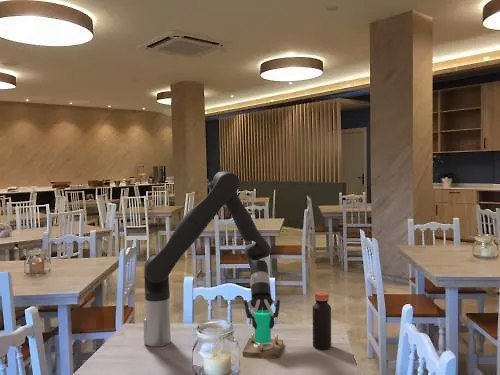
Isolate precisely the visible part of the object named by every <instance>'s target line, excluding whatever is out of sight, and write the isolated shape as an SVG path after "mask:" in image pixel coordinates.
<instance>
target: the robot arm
mask: <svg viewBox="0 0 500 375" xmlns="http://www.w3.org/2000/svg"><path fill="white" fill-rule="evenodd" d="M240 184H241V183H240V179H239V177H238V176H237V174H235V173H233V172H230V171H226V170H225V171H224V170H223V171H218V172H217V173H216V174H215V175H214V176H213V178H212V186H213V187H212V188H211V190H210V192H209V193H208V194H207V196H206V197H204V199H202V200H201V201H199V202H198V203H196V205H194V206H193V207H192V208H191V209H190V210H189V211H188V212H187V213H186V214H185V215H184V216H183V217H182V218H181V220H180V221H179V222H178V224H177V226H176V227H175V229H174V231H173V232H172V234H171V236H170V238H169V239H168V241H167V242H166V244H165V246H164V247H163V248H162V249H161V250H160V251H159V253H157V254H154V255H151V256H150V257H149V258H147V259H146V260H145V263H144V266H143V268H144V269H143V272H144V273H143V274H144V276H143V277H144V299H145V300H144V302H145V304H144V305H145V318H144V319H143V344H144V345H146V346H148V347H153V348H154V347H156V348H157V347H163V346H167V345H169V344H170V343H171V300H170V299H171V298H170V297H171V296H170V294H171V292H170V280H169V279H170V277H169V276H170V275H171V272H172V270H174V267H176V265H177V263H178V262H179V260H180V259H181V257H182V256H183V255H184V254H185V253H186V251H188V250H189V248H191V246H192V245H193V244H194V243H195V241H197V240H198V238H199V237H200V236H201V235H202V233H203V232H204V231H206V228H207V226H209V224H210V223H211V221H213V219H214V218H215V217H216V215H217V214H218V212H219V211H220V210H221V208H222V207H223V206H224V205H225V206H226V207H227V209H228V211H229V213H230V215H231V217H232V220H233V222H234V224H235V227H236V229H237V231H238V232H239V234H240V236H241V239H242V240H243V242H253V243H250V244H247V245H246V246H245V248H244V254H245V257H246V259H247V262H248V265H249V269H250V294H251V295H250V296H251V297H250V298H251V300H250V301H249V300H248V301H247V300H244V301H243V308H244V310H245V315H246V318H247V319H251V322H252V324H251V326H252V328H254V330H255V329H256V328H257V324H256V322H255V318H254V312H255V311H256V312H257V310H268V311H269V312H270V315H271V320H270V321H271V330H272V329H273V328H274V327H275V318H278V317H279V312H280V305H281V300H280V299H277V300H274V299H273V298H272V291H271V290H272V289H271V282H270V276H269V267H268V263H267V262H266V261H265V260H262V259H266V258H267V257H269V256H270V255H271V252H272V250H271V246H270V244H269V242H268V241H267V240H266V239H265V238H264V237H263V236H262V234H261V233H260V231H259V230H258V228H257V227H256V224H255V222H254V220H253V218H252V216H251V215H250V213H249V211H248V210H247V209H246V207H245V206H244V203H243V202H242V200H241V199H240V197H239V195H238V190H239V188H240ZM272 305H273V306H274V308H275V311H274V312H273V310H272ZM250 306H252V307H253V311H252V313H251V310H250V308H251V307H250Z"/></svg>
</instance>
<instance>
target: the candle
mask: <svg viewBox="0 0 500 375" xmlns="http://www.w3.org/2000/svg"><path fill="white" fill-rule="evenodd" d="M254 318H255V322H256V324H257V328H256V329H254V338H255V342H257V343H261V342H262V343H268V342H270V341H271V339H272V335H271V334H272V332H271V330H272V329H271V321H270V320H271V315H270V312H269V311H268V310H257V312H256V311H255V312H254Z"/></svg>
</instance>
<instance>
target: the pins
mask: <svg viewBox="0 0 500 375" xmlns="http://www.w3.org/2000/svg"><path fill="white" fill-rule="evenodd" d="M250 335H251V336H250V338H251V343H254V338H255V333H251V334H250ZM274 340H275V344H278V340H279V335H278V334H275V335H274ZM260 352H263V343H262V342H261V343H260Z"/></svg>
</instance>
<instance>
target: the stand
mask: <svg viewBox="0 0 500 375" xmlns="http://www.w3.org/2000/svg"><path fill="white" fill-rule="evenodd" d="M283 345H284V339H278V344H275V339H272V338H271V341H270V342H268V343H263V352H260V343H257V342H255V337H254V343H251V337H249V338H248V340H247V342H246V344H245V346H244V348H243V351H242V357H254V358H266V359H267V358H269V359H280V356H281V353H282V350H283Z"/></svg>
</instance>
